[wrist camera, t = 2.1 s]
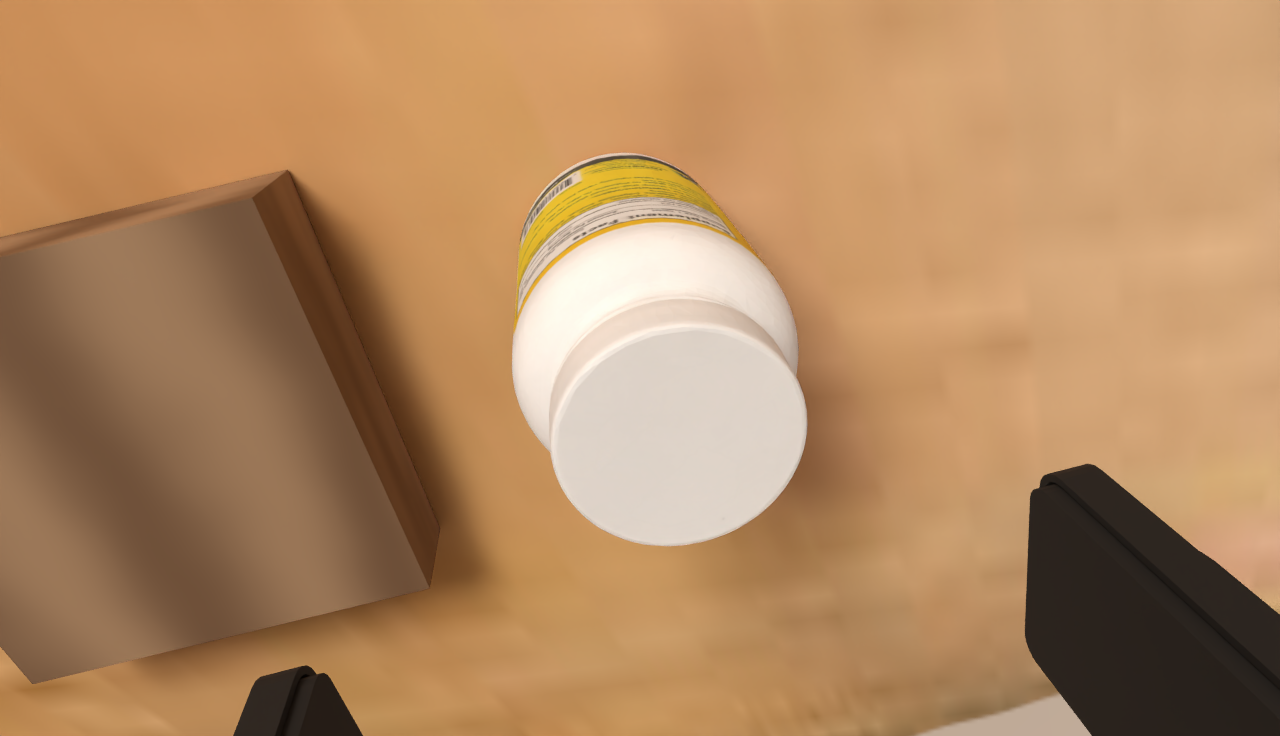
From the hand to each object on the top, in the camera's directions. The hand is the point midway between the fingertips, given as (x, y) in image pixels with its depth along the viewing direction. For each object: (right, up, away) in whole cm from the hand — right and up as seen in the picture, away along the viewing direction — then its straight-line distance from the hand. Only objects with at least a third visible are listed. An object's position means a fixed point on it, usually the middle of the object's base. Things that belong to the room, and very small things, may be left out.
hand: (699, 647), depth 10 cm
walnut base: (-15, +2, +14) cm, 21 cm away
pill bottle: (-1, +7, +13) cm, 15 cm away
